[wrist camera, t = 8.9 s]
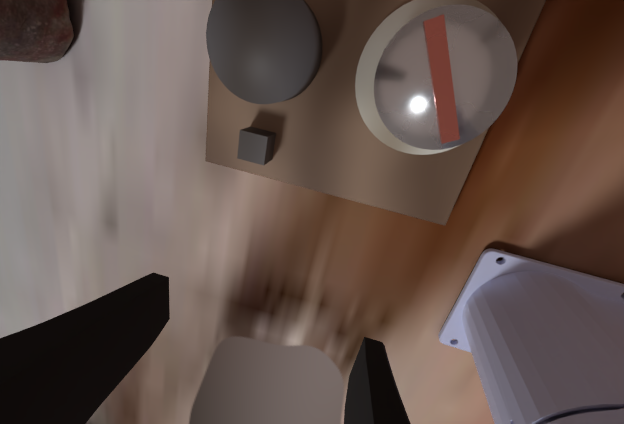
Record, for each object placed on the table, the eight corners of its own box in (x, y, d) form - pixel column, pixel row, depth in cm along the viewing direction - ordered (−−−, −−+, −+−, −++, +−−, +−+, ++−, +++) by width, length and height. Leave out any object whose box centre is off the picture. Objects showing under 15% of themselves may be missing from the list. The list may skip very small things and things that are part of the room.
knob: (484, 117, 14) (525, 132, 10) (387, 142, 16) (387, 164, 12) (473, 10, 13) (516, -25, 9) (367, 48, 14) (360, 33, 10)
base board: (571, -83, 12) (630, -134, 9) (441, 216, 18) (452, 242, 15) (231, -133, 14) (191, -189, 11) (215, 156, 20) (186, 169, 17)
